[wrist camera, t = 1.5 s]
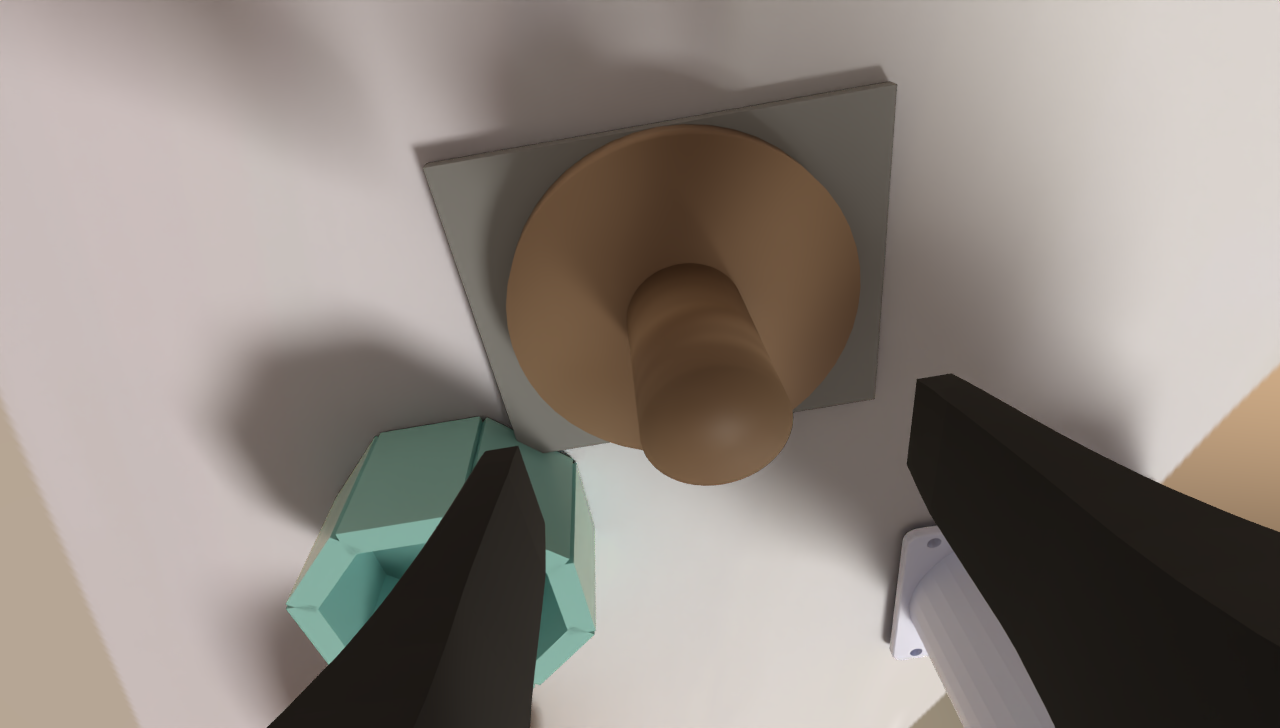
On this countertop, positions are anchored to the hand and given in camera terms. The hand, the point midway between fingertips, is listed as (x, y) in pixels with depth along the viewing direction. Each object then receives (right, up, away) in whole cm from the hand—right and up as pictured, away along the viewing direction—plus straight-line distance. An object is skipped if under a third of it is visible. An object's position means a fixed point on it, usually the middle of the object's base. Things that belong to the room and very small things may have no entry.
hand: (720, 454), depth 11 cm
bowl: (-7, -3, +10) cm, 13 cm away
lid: (0, +3, +5) cm, 6 cm away
